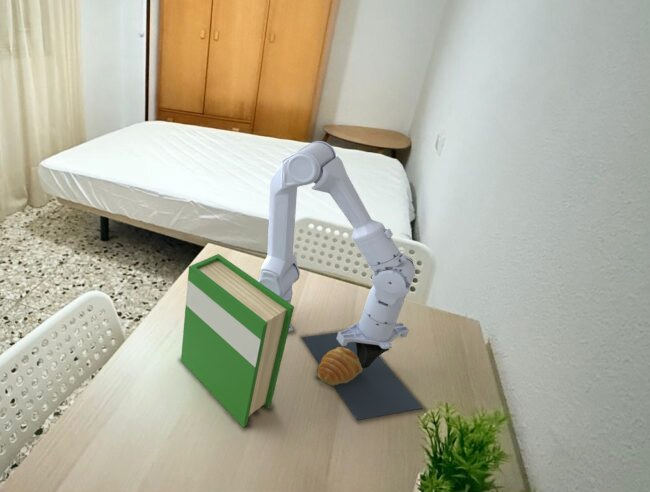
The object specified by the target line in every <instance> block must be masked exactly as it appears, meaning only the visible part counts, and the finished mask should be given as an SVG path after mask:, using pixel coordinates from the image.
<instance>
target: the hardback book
mask: <svg viewBox="0 0 650 492" xmlns="http://www.w3.org/2000/svg"><path fill="white" fill-rule="evenodd" d="M187 273H188V274H187V285H186V297H185V307H184V308H185V309H184V321H183V332H182V343H181V344H182V345H181V356H180V361H181V362H182V363H183V365H185V367H186V368H187V369H188V370H189V371H190V372H191V373H192V374H193V375H194V376H195V377H196V379H197V380H198V381H199V382H200V383H201V384H202V385H203V386H204V387H205V388H206V390H208V391H209V392H210V394H211V395H212V396H213V397H214V398H215V399H216V400H217V401H218V402H219V403H220V404H221V405H222V407H224V409H226V411H227V412H228V413H229V414H230V415H231V416H232V417H233V418H234V419H235V420H236V421H237V423H239V425H240V426H241V427H242V428H245V427H246V426H247V425H248V421H249V417H250V416H251V415H252V414H253V413H255V412H257V410H259V409H261V408H262V406H264V407H265V408H266V409H269V408H270V407H271V406H272V403H273V399H274V394H275V390H276V386H277V381H278V377H279V374H280V373H279V372H280V368H281V364H282V360H283V356H284V351H285V347H286V343H287V339H288V336H289V332H288V331H289V327H290V325H291V322H292V318H293V314H294V310H295V305H293V304H291V303H288V302H287V301H286V300H284V299H283V298H281V297H280V296H278V295H277V294H276V293H274V292H273V291H271V290H270V289H268V288H267V287H265V286H264V285H263V284H261V283H260V282H258V281H257V280H258V279H255V278H254V277H253V276H251V275H250V274H249V273H247V272H245V270H243V269H241V268H240V267H238V266H236V265H235V264H234V263H233V262H231V261H229V260H228V259H227V258H225V257H224V256H223V255H222V254H219V253H217V254H215V255H213V256H210V257H208V258H206V259H203V260H201V261H198V262H196V263H193V264H192V265H189V266H188V272H187Z"/></svg>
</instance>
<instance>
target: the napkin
mask: <svg viewBox="0 0 650 492" xmlns="http://www.w3.org/2000/svg"><path fill="white" fill-rule="evenodd" d="M338 332H339V331H338ZM338 332H331V333H323V334H315V335H309V336H302V337H301V339H302V341H303V342H304V344H305V346H306V347H307V348H308V350H309V351H310V353H311V355H312V356H313V357H314V359H315V360H316V362H317V363H318V365H320V363H321V361H322V358H323V356H324V355H326V354H327V353H328V352H329V351H331V350H334V349H336V348H337V347H344V348H346V349H349V350H351V351H352V352H353V353H355V354H356V355H357V348H356V343H355V342H349V343H347V345H346V346H342V345H341V344H340V343H339V342H338V340H337V339H336V338H337V335H338ZM333 387H334V388H335V390H336V391H337V393H338V395H339V396H340V397H341V399H342V401H343V402H344V403H345V405H346V406H347V407H348V409H349V410H350V412H351V413H352V415H353V416H354V418H355V420H356V421H362V420H367V419H368V420H369V419H373V418H378V417H384V416H390V415H395V414H399V413H405V412H411V411H417V410H421V409H423V406H422V405H421V404H420V402H418V400H417V399H416V398H415V396H414V395H413V394H412V393H411V392H410V391H409V389H408V388H407V387H406V386H405V385H404V384H403V383H402V382H401V380H400V379H399V378H398V377H397V376H396V374H395V373H394V372H393V371H392V370H391V368H389V366H388V365H387V364H386V363H385V361H384V360H383V359H382V358H381V357H380V355H379V356H378V357H377V358H376V359H375V360H374V361H373V362H372V363H371V365H370V366H369V367H368V368H362V372H361V373H359V374H358V375H357V376H356V377H355V378H354V379H352V380H351V381H349V382H348V383H345V384H338V385H333Z"/></svg>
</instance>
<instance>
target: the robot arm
mask: <svg viewBox="0 0 650 492" xmlns="http://www.w3.org/2000/svg"><path fill="white" fill-rule="evenodd" d="M281 161H282V162H281V164H280V165H279V166H278V167H277V169H276V171H275V172H274V173H273V175H272V176H271V178H270V182H269V203H268V205H269V206H268V207H269V208H268V231H267V255H266V258H265V259H264V261H263V264H262V266H261V269H260V275H259V277H258V278H257V279H256V280H257V281H258V282H260V283H261V284H263V285H264V286H265V287H267V288H268V289H270V290H271V291H273V292H274V293H276V294H277V295H278V296H280V297H281V298H283V299H284V300H286V301H287V302H288V303H290V304H291V302H292V298H293V285H294V284H295V283H296V282H297V281H298V280H299V279H300V277H301V271H300V268H299V266H298V261H297V259H298V258H297V255H295V254H294V242H295V227H296V214H297V213H296V211H297V196H298V188H300V187H303V186H308V185H311V184H314V185H313V186H312V187H311V190H314V191H317V192H322V193H327V194H329V195H330V197H331V198H332V199H333V201H334V202H335V204H336V205H337V207H338V208H339V209H340V211H341V212H342V213H343V215H344V216H345V218H346V220H347V221H348V222H349V224H350V225H351V226H352V228H353V232H352V234H351V238H352V241H353V242H354V244H355V245H356V247H357V248H358V250H359V252H360V253H361V255H362V257H363V258H364V260H365V261H366V263H367V265H368V266H369V268H370V269H371V271H372V272H373V273H374V274H372V275H371V282H372V287H371V288H370V290H369V293H368V296H367V299H366V302H365V305H364V308H363V311H362V313H361V316H360V318H359V319H360V320H359V321H358V322H356V323H354V324H353V325H351V326H349V327H347V328H346V329H343V330H339V331H338V335H337V338H336V339H337V340H338V342H339V343H340V344H341V345H342V346H346V345H347V343H349V342H355V343H356V348H357V356H358V358H359V361H360V363H361V367H362V368H368V367H369V366H370V365H371V363H372V362H373V361H374V360H375V359H376V358H377V357H378V356H379V357H380V356H381V355H382V354H384V353H386V352H389V351H390V349H392V346H393V344H392V342H393V341H395V340H396V339H397V338H399V337H401V338H407V337H408V334H409V332H410V328H409V327H407V326H406V325H405V324H404V323H403V322H398V319H399V317H400V314H401V311H402V308H403V306H404V303H405V299H406V297H407V295H408V294H409V292H410V288H411V285H412V283H413V281H414V278H415V275H416V266H415V264H414V260H412V258H411V257H409V256H407V255H406V254H405V253H401V251H400V249H399V248H398V246H397V245H396V243H395V242H394V240H393V238H392V237H393V235H394V234H393V232H392V230H391V228H386V227H385V225H384V224H383V223H382V222H380V221H377V220H374V219H372V218H371V216H370V213H369V211H368V210H367V208H366V207H365V205H364V203H363V201H362V199H361V197H360V196H359V194H358V192H357V190H356V187H355V186H354V184H353V182H352V181H351V179H350V177H349V175H348V173H347V170H346V168H345V165H344V162H343V160H342V159H341V158H340V157H339V155H337V153H336V151H335V148H334V147H333V146H332V145H331V144H330V143H328V142H326V141H323V140H315V141H313V142H311V143H309V144H307V145H306V146H303V147H302V148H300V149H299V150H298V151H296V152H294V153H292V154H290V155H288V156H287V157H285V158H284V159H282V160H281ZM293 330H294V329H293V327H292V325H291V324H290V327H289V331H288V333H289V332H293Z"/></svg>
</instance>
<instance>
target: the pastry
mask: <svg viewBox="0 0 650 492" xmlns="http://www.w3.org/2000/svg"><path fill="white" fill-rule="evenodd" d="M361 372H362V367H361V363H360V361H359V358H358V356H357V355H356V354H355V353H353V352H352V351H351V350H349V349H346V348H344V347H337V348H336V349H334V350H331V351H329V352H328V353H327V354H326V355H324V356H323V358H322V361H321V363H320V364H319V366H318V368H317V377H318V378H319V380H321V381H322V382H323V383H324V384H327V385H329V386H334V385H338V384H345V383H348V382H349V381H351V380H352V379H354V378H355V377H356V376H357V375H358V374H359V373H361Z"/></svg>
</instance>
